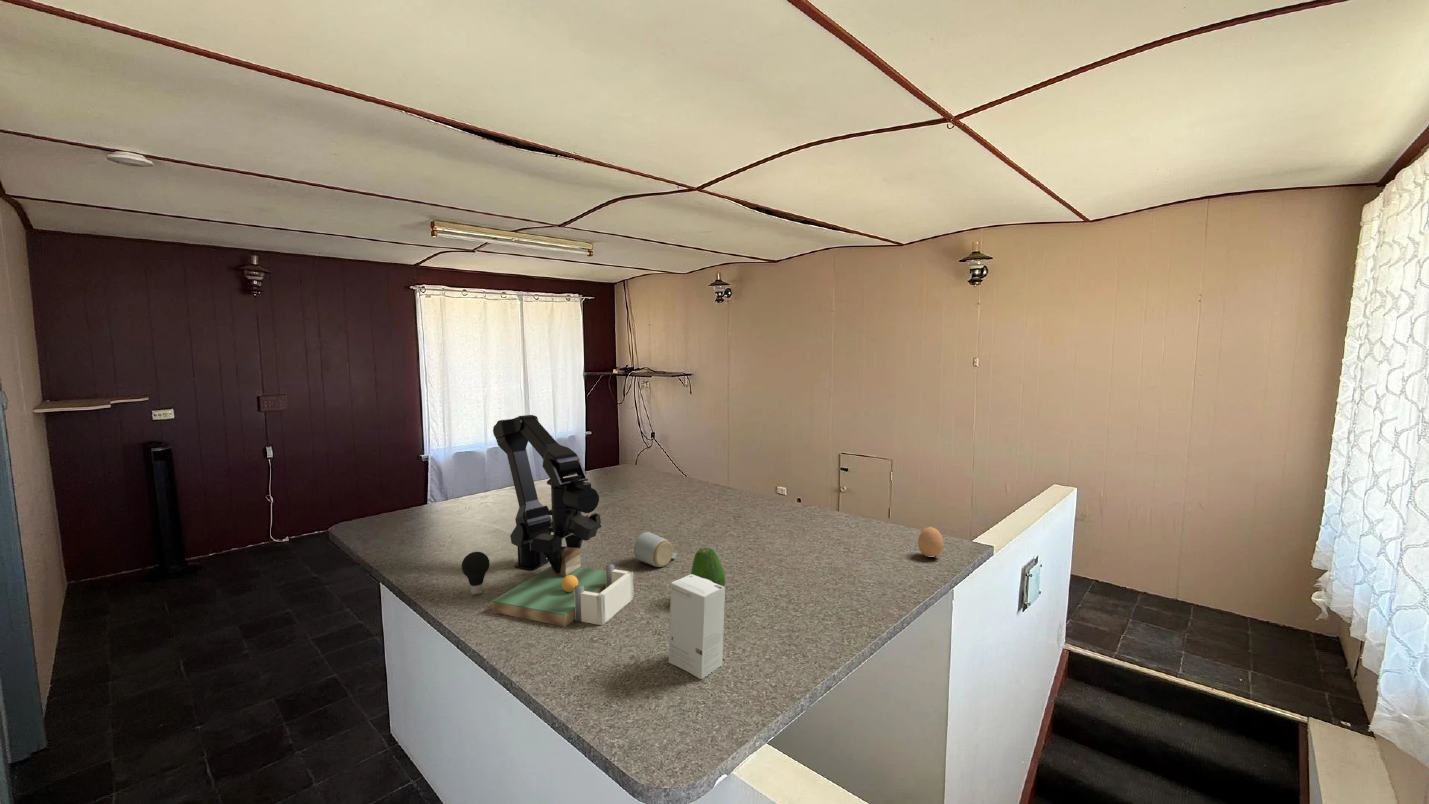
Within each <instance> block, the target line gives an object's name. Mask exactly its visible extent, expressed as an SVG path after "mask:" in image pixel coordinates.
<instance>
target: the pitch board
mask: <svg viewBox="0 0 1429 804" xmlns="http://www.w3.org/2000/svg"><path fill="white" fill-rule="evenodd" d="M570 575H573V576H575V577H576V578H577V579H578V585H583V586H584V591H588V592H594V593H599V594H600V593H601V592H602V591H603V590H605V589H606V570H601V569H594V568H588V567H582V566H580V569H578V570H577V571H575V572H573V573H572V574H570ZM563 579H564V577H559V576H553V575H551V566H550V567H547V568H546V569H544V570H542V571H540V572H539V573H537V574H535V575H533V576H532V577H531V578H529V579H527V580H525V581H524V582H522V583H519V584H518V585H516V586H515V587H513V588H511V589H509V590H508V591H506V592H505V593H503V594H502V595H500V596H498V597H496V598H495V599H493V600H491V605H492V613H496V614H499V615H501V614H502V615H505V616H511V617H515V618H521V619H525V620H526V619H527V620H531V621H536V622H540V623H541V622H542V623H545V624H551V625H555V626H561V627H567V626H569V625H570V624H571V623H572V622H574V621H576V620H575V593H574V592H575V590H574V591H572V592H566V591H564V590H563V588H562V580H563Z"/></svg>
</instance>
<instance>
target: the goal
mask: <svg viewBox="0 0 1429 804" xmlns="http://www.w3.org/2000/svg"><path fill="white" fill-rule="evenodd" d="M605 571H606V589H605V590H603V591H602V592H601V593H600V594H599V593H594V592H588V591H584V586H583V585H577V586H575V592H574V593H575V620H574V621H576V622H578V623H579V622H582V623H589V624H593V625H600V626H604V624H606V623H607V622H608V621H609V620H610V619H612V618H613V617H614V616H615V615H616V614H617V613H618V612H620V611H621V610H622V609H623V608H624V607H626V605H628V604H629V602H630V603H631V601H632V600H633V599H634V595H635V594H634V591H635V590H634V585H635V584H634V572H633V571H629V570H623V569H616V568H615V564H614V563H609V564H606V565H605Z"/></svg>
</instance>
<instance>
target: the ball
mask: <svg viewBox="0 0 1429 804" xmlns="http://www.w3.org/2000/svg"><path fill="white" fill-rule="evenodd" d="M577 585H578V579H577V578H576V577H575V576H573V575H568V576H566V577H564V579H563V580H562V588H563V590H564V591H566V592H572V591H574V590H575V586H577Z"/></svg>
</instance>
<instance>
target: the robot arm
mask: <svg viewBox="0 0 1429 804" xmlns="http://www.w3.org/2000/svg"><path fill="white" fill-rule="evenodd" d="M492 427H493V429H492V433H493V436H494V438H495V440H496V443H497V445H498V447H499V448H500V449H501V450H502V451H503V452H504V453H505V454H506V456H507V460H508V464H509V469H510V473H511V478H512V481H513V482H512V483H513V486H514V489H515V494H516V499H517V502H518V510H517V512H516V516H515V518H514V519H515V520H514V521H515V527H514V529H513V531H511V534H510V535H509V537H510V543H511V544H512V545H514V546H516V547H517V562H516V563H515V564H514V565H513V567H514V568H518V569H525V570H529V571H530V570H532V571H535V570H537V569H538V568H540V567H542V566H544V565H545V564H547V563H549V565H550V567H551V566H552V568H553V570H554V571H555V573H557V574H559V573H560V570H561V554H562V552H563V551H564V549H565V548H566V546H567V547H574V548H580V549H581V547H582V544H583V541H585V542H587V541H590V539H591V538H595V537H596V536H597V532H598V530H599V529H601V528H602V521H601V520H602V519H601V515H600V514H599V513H597V512H594V510H596V509H597V507H598V505H599V501H600V496H599V494H598V491H597V490H596V489H595V488H593V487H592V482H588V481H589V478H588V476H587V474H588V473H587V471H586V470H585V468H584V466H583V464H582V461H581V459H580V457H579V455H578V454H577V453H576V452H575V451H573V450H572V449H571V448H570V447H568V446H564V445H561V444H560V443H558V442H557V441H556V439H554V437H553V436H552V435H551V434H550V433H549V432H548V430H546V428H545V427H544V426H543V425H542V424H541V423H540V421H539V418H538V416H536V415H534V414H527V415H526V414H525V415H518V416H517V417H513V418H508V419H500V420H498V421H496V424H495V425H493V426H492ZM528 443H529V444H530V445H531V446H532V447H533V449H534V450H535V451H536V452H537V453H538V455H540V457H541V459H542V468H543V470H544V471H545V473H546V474H547V476H548V477H549V479H548V480H547V481H546V485H548V486H550V494H551V497H550V498H551V503H550V504H551V508H550V509H549V507H548V506H547V505H543V504H542V503H541V502H540V501H539V498H538V493H537V490H536V484H535V482H534V478H533V473H532V469H531V464H530V460H529V456H528V453H527V452H528V451H527V446H528V445H529V444H528ZM592 512H594V513H592ZM582 513H584V514H589V513H592V514H591V515H583V514H582ZM563 540H565V544H566V546H564V545H563Z"/></svg>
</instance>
